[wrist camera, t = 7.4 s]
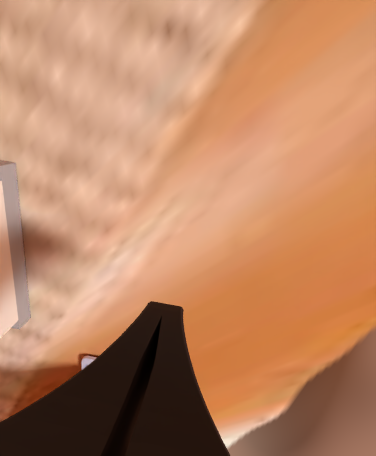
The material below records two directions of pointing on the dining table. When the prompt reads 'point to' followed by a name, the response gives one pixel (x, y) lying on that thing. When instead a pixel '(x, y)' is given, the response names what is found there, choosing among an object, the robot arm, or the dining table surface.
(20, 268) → the plate
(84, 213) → the dining table surface
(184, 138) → the dining table surface
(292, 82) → the dining table surface
